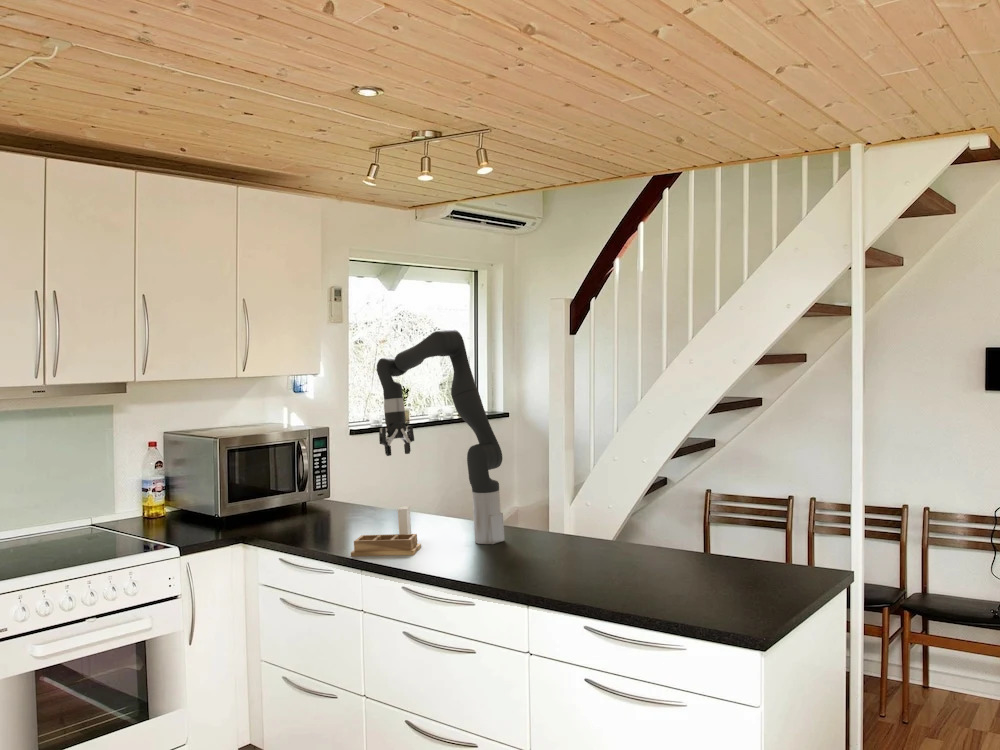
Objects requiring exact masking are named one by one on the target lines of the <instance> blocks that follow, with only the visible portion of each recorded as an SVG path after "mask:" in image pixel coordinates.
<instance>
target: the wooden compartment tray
mask: <svg viewBox="0 0 1000 750" xmlns="http://www.w3.org/2000/svg"><path fill="white" fill-rule="evenodd" d="M421 548H422V543H418V534H417V533H411V534H399V533H396V534H395V533H393V534H392V533H391V534H362V535H360V536H359V537H357V538H356V539H355V540H353V550H351V552H350V557H370V556H371V557H374V556H375V557H376V556H378V557H379V556H414V555H415V554H416V553H417V552H418V551H419V550H420V549H421Z"/></svg>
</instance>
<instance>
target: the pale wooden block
mask: <svg viewBox="0 0 1000 750" xmlns="http://www.w3.org/2000/svg"><path fill="white" fill-rule="evenodd" d="M397 519H398V534H412V522H411V507H410V506H400V507H398V508H397Z"/></svg>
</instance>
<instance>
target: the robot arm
mask: <svg viewBox="0 0 1000 750" xmlns="http://www.w3.org/2000/svg"><path fill="white" fill-rule="evenodd" d="M434 357H449V359H450V362H451V364H452V369H453V377H452V382H451V387H450V388H451V389H450V395H451V398H452V401H453V405H454V407H455V410H456V412H457V414H458V416H459V417H460V418H461V419H462V420H463V422H465V423H466V424H467V425H468V426H469V427H470V429H471V430H472V431H473V432H474V434H475V436H476V439H477V440H478V443H477V444H473V445H471V446H470V447H469V449H467V450H468V451H467V454H466V455H467V456H466V464H467V471H468V472H467V473H468V479H469V484H470V486H471V495H472V510H473V511H472V512H473V513H472V514H473V528H474V529H473V531H474V542H475V544H479V545H494V544H498V543H501V542H504V541H505V529H504V528H505V526H504V525H505V523H504V512H502V511H501V494H500V483H499V481H498V480H496V479H493V478H491V477H490V472H489V471H491V470H495V469H498V468H500V466H501V465H502V464H503V463H502V462H503V452H502V449H501V446H500V444H499V441H498V439H497V437H496V435H495V433H494V431H493V428H492V426H491V424H490V422H489V419H488V416H487V413H486V410H485V408H484V405H483V401H482V399H481V396H480V392H479V390H478V386H477V385H476V381H475V379H474V376H473V375H474V374H473V373H472V369H471V366H470V362H469V358H468V354H467V350H466V345H465V342H464V339H463V336H462V334H461V333H460V332H459V330H456V329H437V330H436V331H433V332H432V333H430V334H429V335H428V336H427V337H425V338H424V339H422V341H420V342H419V343H417V344H415V345H413V346H411V347H410V348H407V349H405V350H402V351H401V352H399V353H397V354H396V356H395V357H382V358H379V360H378V361H377V364H376V373H377V375H378V378H379V381H380V385H381V387H382V389H383V391H382V392H383V410H384V423H385V425H386V427H380V428H379V429H378V430H379V431H378V436H379V439H378V440H379V444H380V445H383V446H384V453H385V455H386V457H391V456H392V446H391V443H392V442H393V441H394V439H400V440H402V442H403V443H404V444H403V447H404V454H405V455H409V454H410V453H411V451H412V449H411V443H412V442H415V436H414V426H413V425H407V426H406V410H405V402H404V394H403V385H402V384H401V383H399V382H396V381H395V380H394V379H393V377H400V376H403V375H404V374H406V373H407V372H408V371H409V370H411V369H413V368H416V367H417V366H419V365H421V364H422V363H423V362H424V360H425V359H428V358H434Z"/></svg>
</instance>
